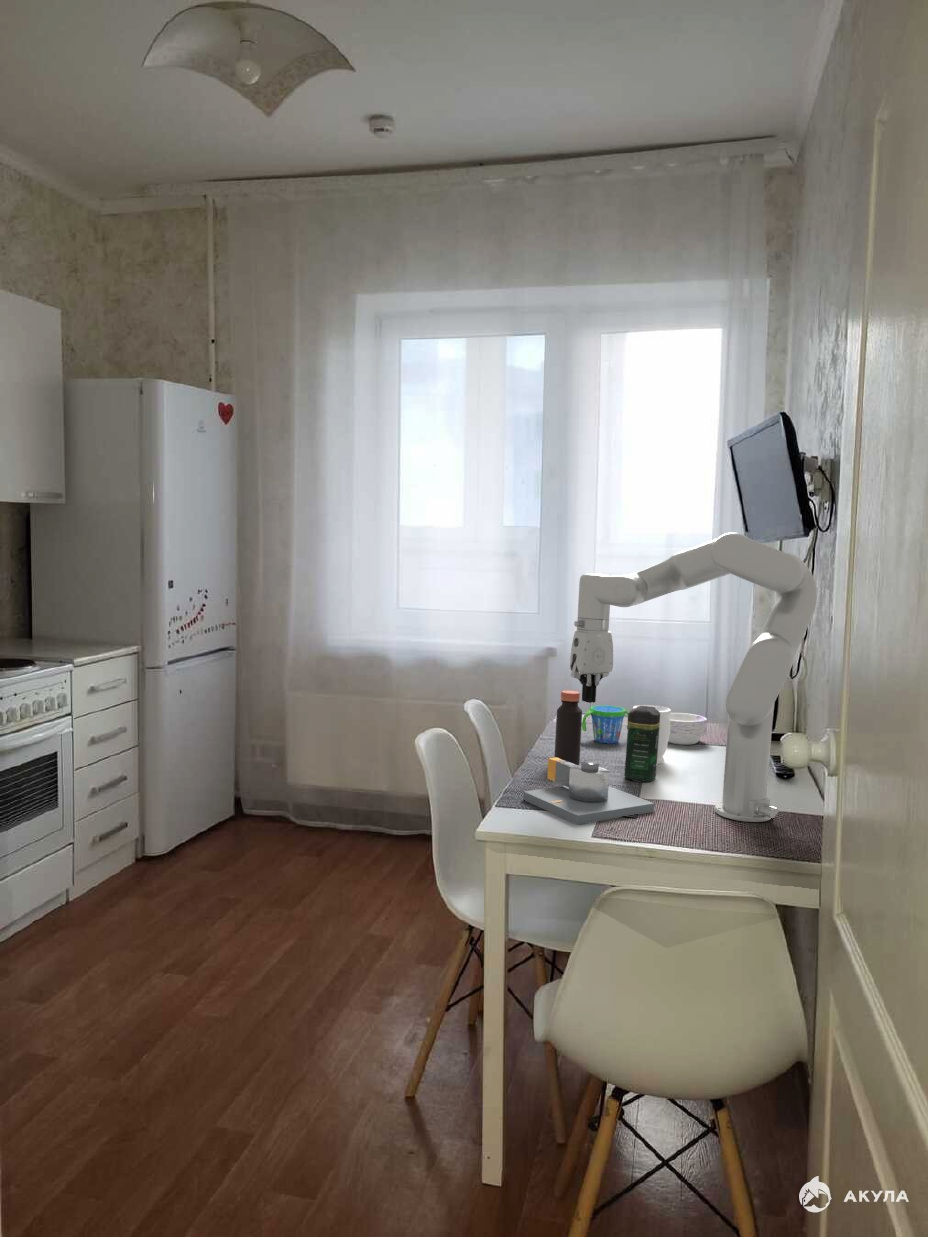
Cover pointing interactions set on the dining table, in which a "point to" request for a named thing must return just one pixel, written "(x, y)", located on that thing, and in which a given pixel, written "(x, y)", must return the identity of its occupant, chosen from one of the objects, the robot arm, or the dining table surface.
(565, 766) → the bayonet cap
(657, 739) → the coffee jar
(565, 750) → the bottle
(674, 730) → the white round hollow piece
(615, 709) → the snack cup
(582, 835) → the dining table surface
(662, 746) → the white cup
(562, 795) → the mounting board
